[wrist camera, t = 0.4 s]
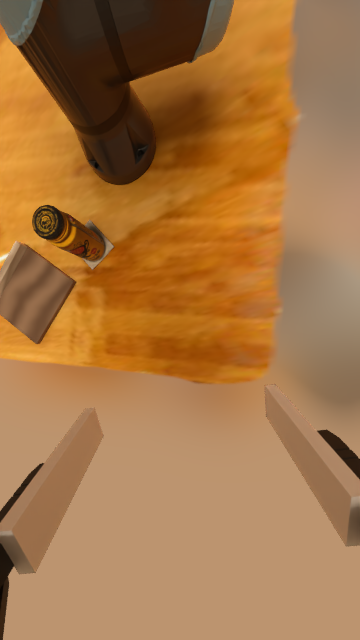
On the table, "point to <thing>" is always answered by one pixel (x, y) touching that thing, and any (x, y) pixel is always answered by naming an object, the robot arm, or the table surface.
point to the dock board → (31, 291)
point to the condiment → (71, 234)
